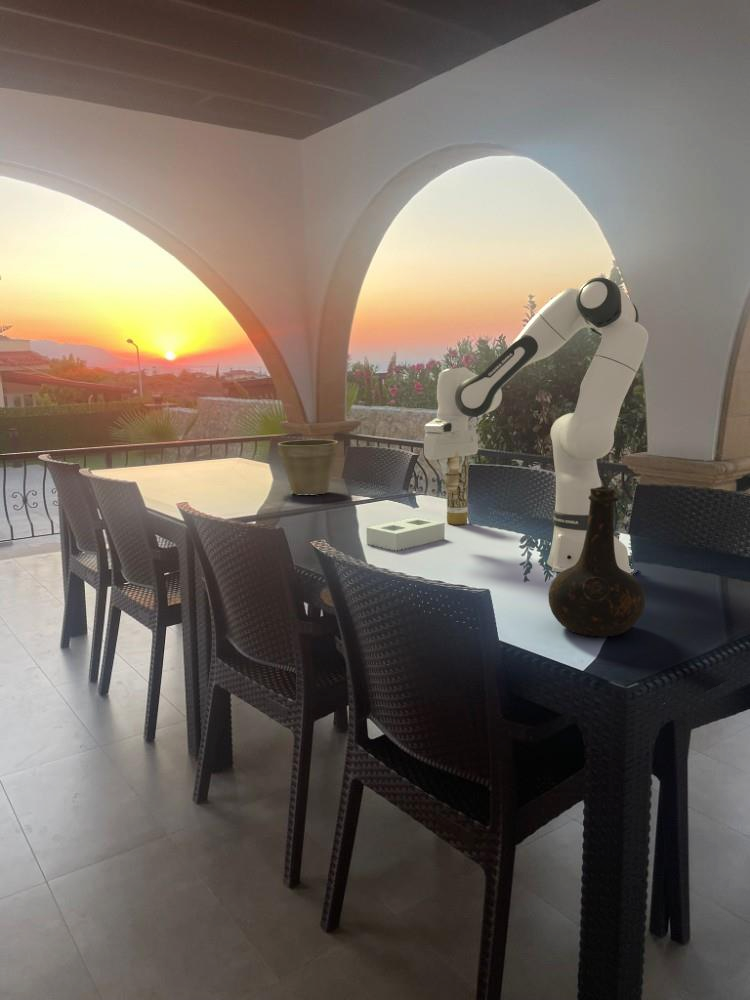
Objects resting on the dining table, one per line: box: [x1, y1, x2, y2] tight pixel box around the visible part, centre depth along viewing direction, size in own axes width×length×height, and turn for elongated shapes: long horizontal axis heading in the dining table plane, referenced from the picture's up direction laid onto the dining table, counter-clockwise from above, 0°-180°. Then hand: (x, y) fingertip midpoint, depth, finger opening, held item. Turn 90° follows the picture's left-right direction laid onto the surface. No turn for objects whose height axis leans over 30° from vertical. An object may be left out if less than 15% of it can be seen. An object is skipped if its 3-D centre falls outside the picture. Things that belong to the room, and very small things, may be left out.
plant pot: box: [277, 439, 339, 495], centre depth 304 cm, size 25×25×22 cm
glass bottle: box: [547, 486, 646, 638], centre depth 140 cm, size 18×18×28 cm
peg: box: [444, 451, 459, 494], centre depth 210 cm, size 4×4×12 cm
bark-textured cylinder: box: [446, 455, 469, 526], centre depth 240 cm, size 7×7×25 cm
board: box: [366, 517, 446, 552], centre depth 217 cm, size 12×21×5 cm, turn 134°
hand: (451, 472), depth 210 cm, fingers closed on peg, 4 cm apart
